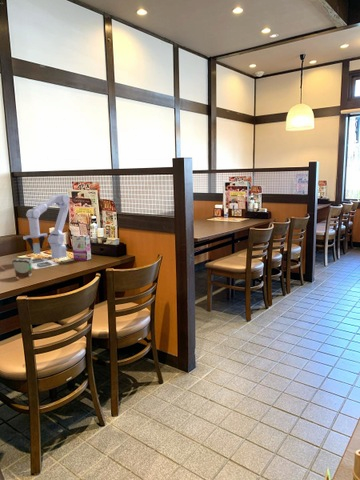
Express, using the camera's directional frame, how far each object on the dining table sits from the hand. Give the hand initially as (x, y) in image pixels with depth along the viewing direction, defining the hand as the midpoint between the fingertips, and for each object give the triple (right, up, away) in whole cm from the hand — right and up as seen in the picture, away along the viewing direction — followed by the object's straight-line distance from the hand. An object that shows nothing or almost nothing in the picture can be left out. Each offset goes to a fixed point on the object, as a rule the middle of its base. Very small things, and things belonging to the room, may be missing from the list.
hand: (36, 248), depth 227 cm
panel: (+3, -10, -2) cm, 10 cm away
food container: (+5, -15, -26) cm, 30 cm away
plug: (0, -3, 0) cm, 3 cm away
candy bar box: (+27, -7, +8) cm, 30 cm away
